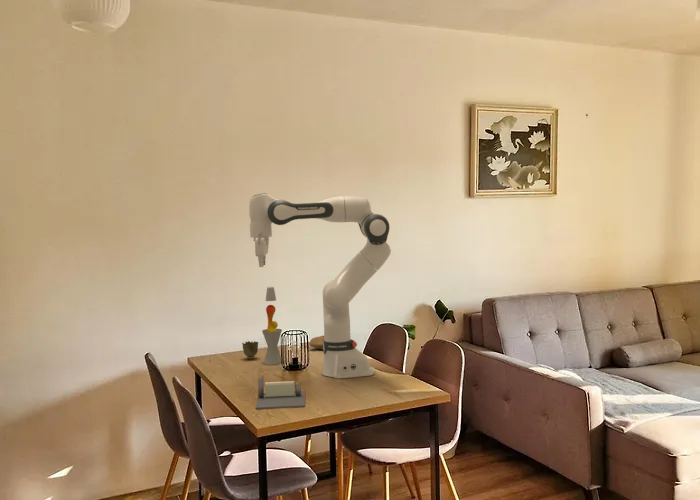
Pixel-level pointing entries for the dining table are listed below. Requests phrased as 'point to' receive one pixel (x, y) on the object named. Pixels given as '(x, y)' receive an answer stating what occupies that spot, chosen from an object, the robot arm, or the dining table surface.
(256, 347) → the cup
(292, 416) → the dining table surface
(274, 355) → the lava lamp
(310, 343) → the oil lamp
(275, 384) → the cream plank
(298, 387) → the posts
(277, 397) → the yard mat
